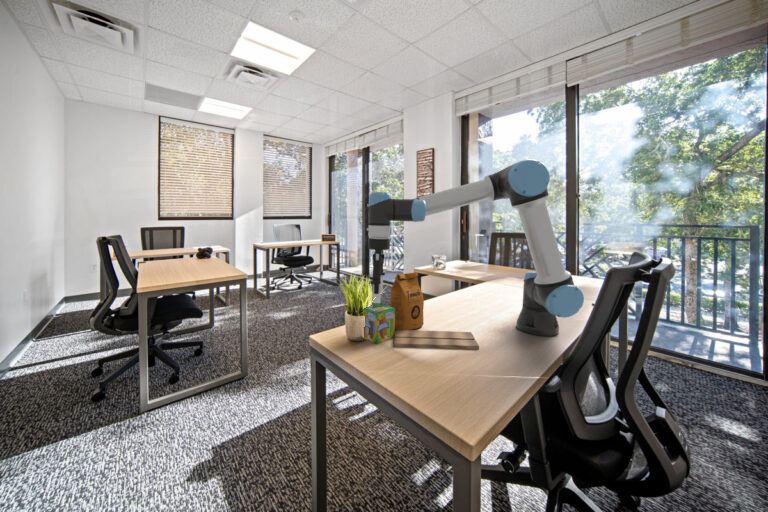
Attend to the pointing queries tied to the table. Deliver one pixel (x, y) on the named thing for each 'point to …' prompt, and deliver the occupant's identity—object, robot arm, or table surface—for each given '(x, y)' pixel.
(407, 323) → the coffee package
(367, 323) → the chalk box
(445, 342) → the wooden board
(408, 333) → the plank
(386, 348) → the table surface
